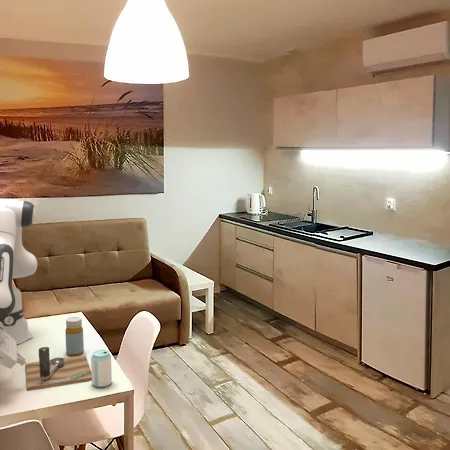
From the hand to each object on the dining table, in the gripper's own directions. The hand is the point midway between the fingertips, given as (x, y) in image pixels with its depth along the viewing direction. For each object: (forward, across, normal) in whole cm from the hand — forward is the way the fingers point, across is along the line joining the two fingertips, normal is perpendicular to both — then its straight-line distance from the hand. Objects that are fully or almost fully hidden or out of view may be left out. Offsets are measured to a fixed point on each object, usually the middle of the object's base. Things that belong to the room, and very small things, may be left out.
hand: (24, 362), depth 185 cm
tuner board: (+15, +8, -2) cm, 17 cm away
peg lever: (+12, +5, -1) cm, 13 cm away
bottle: (+20, +25, -8) cm, 33 cm away
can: (+25, -7, -12) cm, 29 cm away
